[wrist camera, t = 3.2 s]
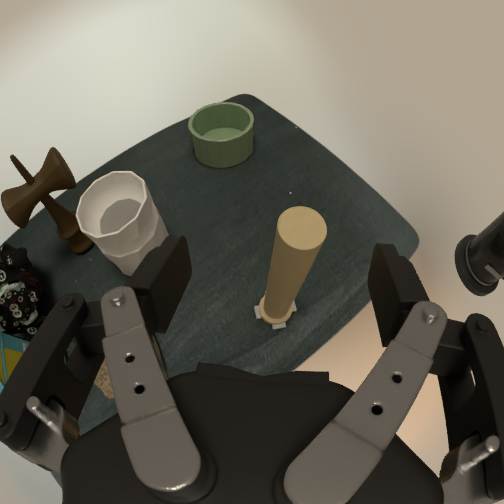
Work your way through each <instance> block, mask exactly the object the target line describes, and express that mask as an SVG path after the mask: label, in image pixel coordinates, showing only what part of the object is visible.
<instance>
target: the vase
mask: <svg viewBox="0 0 504 504" xmlns="http://www.w3.org/2000/svg"><path fill="white" fill-rule="evenodd" d="M152 201H153V199H152V197H151V195H150V192H149V190H148V188H147V186H146V183H145V181H144V180H143V179H142V178H140V177H139V176H137V175H136V174H135V173H133V172H132V171H113V172H111V173H109V174H107V175H105V176H103V177H101V178H99V179H97V180H95V181H94V182H93V183H92V184H91V186H90V187H89V188H88V189H87V190H86V191H85V193H84V194H83V195H82V196H81V198H80V202H79V205H78V208H77V212H76V218H77V221H78V223H79V226H80V229H81V231H82V232H83V233H84V234H85V235H86V236H88V237H89V238H90V239H91V240H92V241H93V242H94V243H95V244H97V245H98V247H99V248H100V250H101V251H102V253H103V254H104V255H105V256H106V257H107V258H108V259H109V260H111V261H112V262H113V263H114V264H115V265H117V266H118V268H119V269H120V270H121V271H122V272H123V274H125V275H128V276H131V275H132V274H133V272H134V271H135V270H136V268H138V265H139V264H140V263H141V262H142V260H143V258H144V257H145V256H146V254H147V253H148V252H150V251H151V250H152V249H154V248H155V247H159V246H160V245H161V244H162V242H163V241H164V240H165V238H166V237H167V236H169V234H168V232H167V229H166V227H165V224H164V222H163V220H162V218H161V216H160V214H159V212H158V210H157V208H156V207H155V205H154V203H153V202H152Z"/></svg>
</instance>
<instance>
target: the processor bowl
mask: <svg viewBox="0 0 504 504" xmlns="http://www.w3.org/2000/svg"><path fill="white" fill-rule="evenodd" d="M189 132H190V137H191V142H192V147H193V151H194V154H195V157H196V158H197V159H198V160H199V161H200V162H201V163H202V164H204V165H207V166H209V167H214V168H227V167H232V166H235V165H238V164H240V163H242V162H244V161H245V160H246V159H247V158H248V157H249V156H250V155H251V153H252V151H253V145H254V117H253V114H252V113H251V112H250V110H249V109H247V108H246V107H244V106H242V105H239V104H236V103H230V102H220V103H214V104H210V105H207V106H204V107H202V108H200V109H199V110H197V111H196V112H195V113H194V114H193V115H192V116H191V118H190V120H189Z"/></svg>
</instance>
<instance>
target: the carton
mask: <svg viewBox="0 0 504 504" xmlns="http://www.w3.org/2000/svg"><path fill="white" fill-rule="evenodd" d="M29 343H30V341H29V340H26V339H23V338H20V337H17V336H14V335H12V334H9V333H6V332H3V331H1V332H0V394H1V392H2V390H3V388H4V386H5V384H6V382H7V380H8V379H9V377H10V375H11V373H12V371H13V370H14V368H15V366H16V364H17V363H18V361H19V359H20V358H21V356H22V354H23V353H24V351H25V349H26V348H27V346H28V345H29ZM64 361H65V364H66V363H67V361H68V356H67V351H66V352H65V355H64Z"/></svg>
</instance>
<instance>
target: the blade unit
mask: <svg viewBox="0 0 504 504" xmlns="http://www.w3.org/2000/svg"><path fill="white" fill-rule="evenodd" d="M326 234H327V227H326V223H325V221H324V219H323V218H322V216H321V215H320V214H319V213H317V212H316V211H315V210H313V209H311V208H308V207H303V206H297V207H292V208H289V209H287V210H286V211H284V212H283V213H282V214H281V216H280V217H279V220H278V223H277V229H276V235H275V241H274V247H273V253H272V259H271V265H270V271H269V277H268V283H267V288H266V291H265V295H264V296H263V298H262V299H261V301H260V304H259V305H258V306H254V310H255V315H256V319H261V318H262V319H263V320H264V321H265V322H266V323H268V324H271V325H272V327H273V330H276V329H281V328H286V323H285V322H286V321H287V320H288V319H289V317H290V315H291V313H292V312H296V311H297V309H296V305H295V301H294V299H295V297H296V295H297V293H298V291H299V290H300V288H301V286H302V284H303V282H304V280H305V278H306V276H307V274H308V272H309V270H310V268H311V266H312V264H313V262H314V260H315V258H316V256H317V254H318V252H319V250H320V248H321V246H322V244H323V242H324V240H325V238H326Z"/></svg>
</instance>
